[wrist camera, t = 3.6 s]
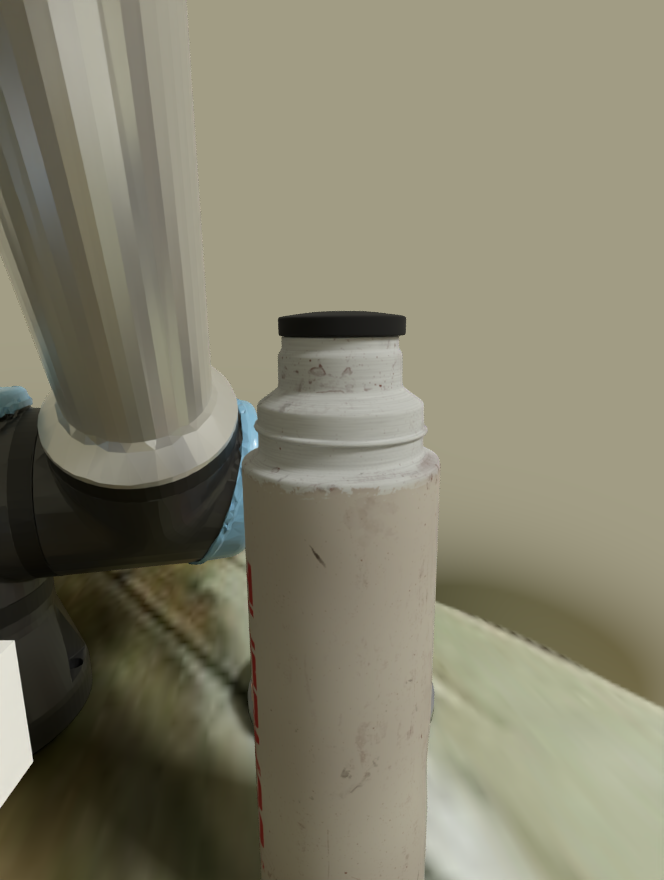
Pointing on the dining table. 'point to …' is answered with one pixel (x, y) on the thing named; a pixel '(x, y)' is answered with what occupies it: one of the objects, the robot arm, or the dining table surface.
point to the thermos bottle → (341, 603)
